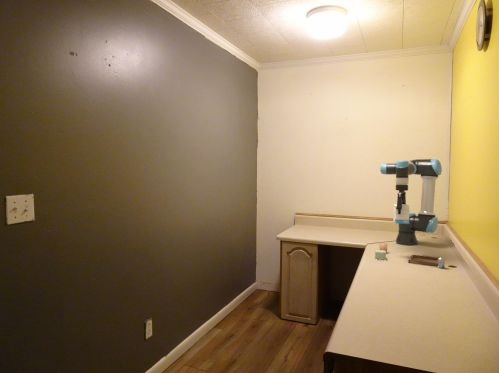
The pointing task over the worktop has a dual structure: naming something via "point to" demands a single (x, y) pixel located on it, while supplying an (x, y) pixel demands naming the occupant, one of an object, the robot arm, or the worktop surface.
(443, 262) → the grey peg
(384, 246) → the terracotta cup
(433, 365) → the worktop surface
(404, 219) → the ink box
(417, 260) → the tray
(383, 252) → the sage block
